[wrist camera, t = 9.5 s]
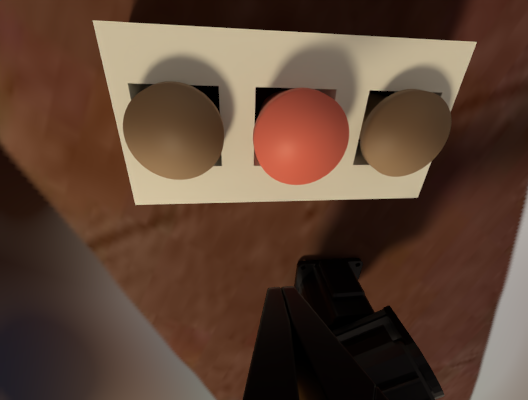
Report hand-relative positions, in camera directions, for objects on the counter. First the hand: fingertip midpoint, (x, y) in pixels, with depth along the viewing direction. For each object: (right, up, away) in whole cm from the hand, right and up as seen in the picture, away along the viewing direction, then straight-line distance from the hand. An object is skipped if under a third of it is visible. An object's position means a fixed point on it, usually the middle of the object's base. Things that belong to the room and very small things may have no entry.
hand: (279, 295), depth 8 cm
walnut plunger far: (+7, +9, +10) cm, 15 cm away
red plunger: (+1, +9, +9) cm, 12 cm away
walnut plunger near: (-5, +9, +9) cm, 14 cm away
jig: (+1, +9, +10) cm, 13 cm away
